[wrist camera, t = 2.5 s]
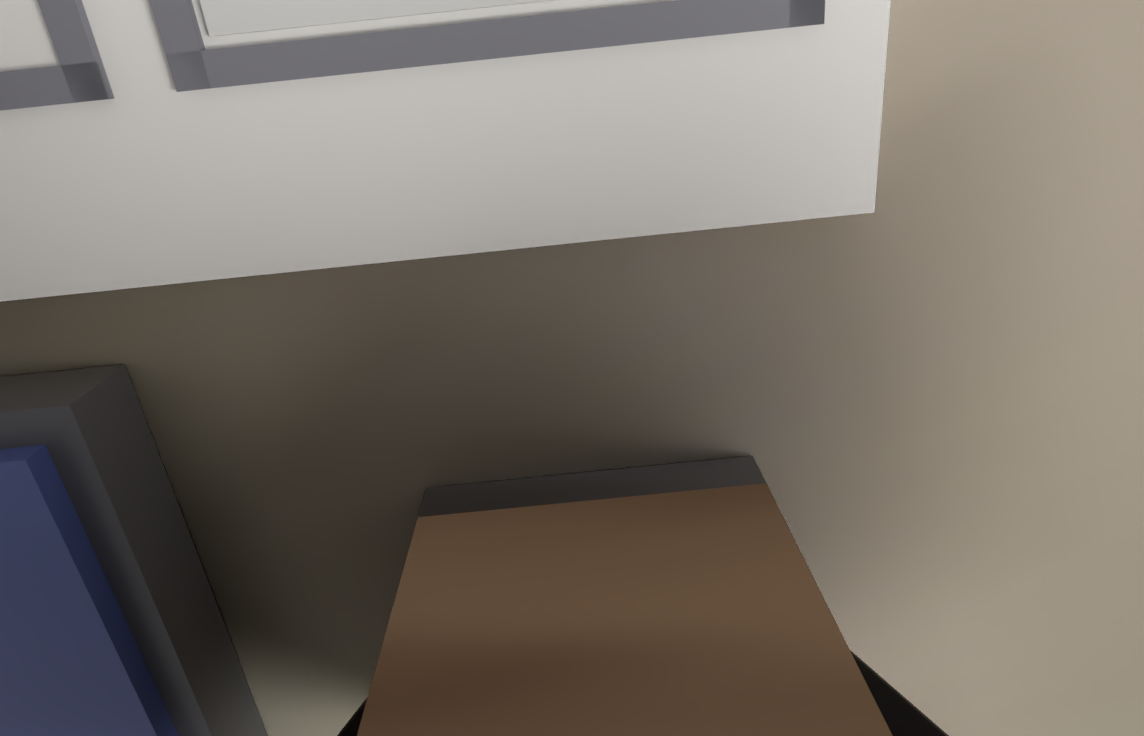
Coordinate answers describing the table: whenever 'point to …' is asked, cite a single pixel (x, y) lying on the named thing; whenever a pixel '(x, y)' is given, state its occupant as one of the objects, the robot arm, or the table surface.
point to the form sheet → (415, 129)
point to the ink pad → (103, 575)
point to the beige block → (613, 614)
